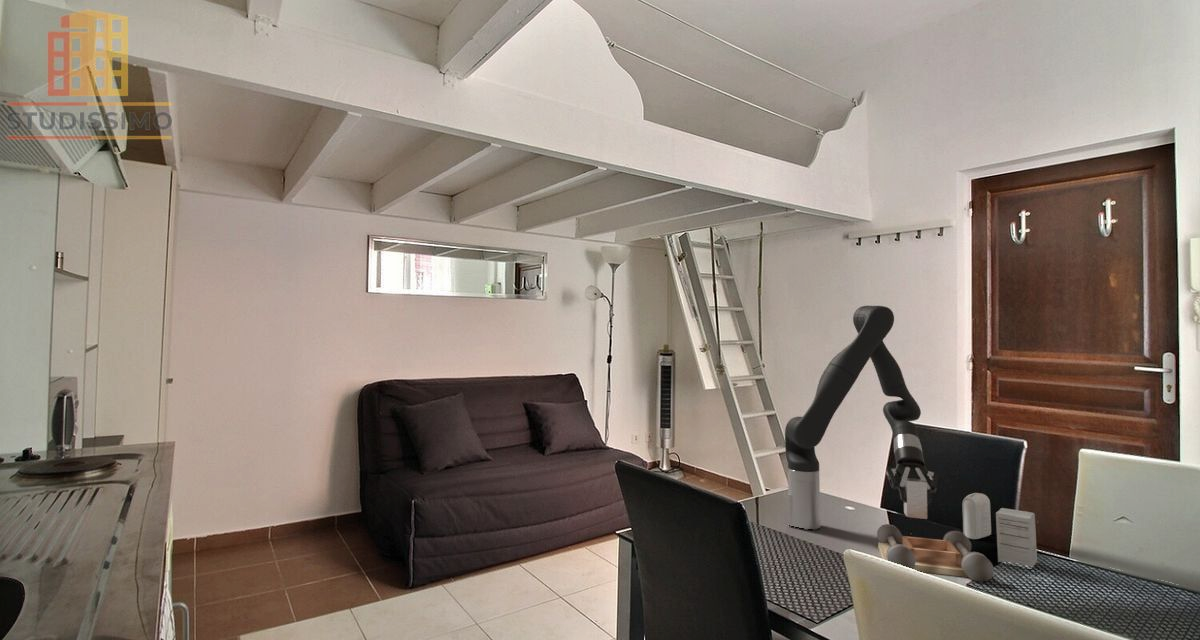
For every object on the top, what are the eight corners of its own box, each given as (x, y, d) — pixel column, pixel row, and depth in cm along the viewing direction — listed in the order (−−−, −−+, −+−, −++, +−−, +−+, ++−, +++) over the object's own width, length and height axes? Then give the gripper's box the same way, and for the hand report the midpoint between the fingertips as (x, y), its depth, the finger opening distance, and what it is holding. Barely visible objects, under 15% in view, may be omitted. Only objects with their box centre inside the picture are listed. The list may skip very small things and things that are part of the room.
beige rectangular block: (907, 517, 159) (906, 480, 160) (904, 512, 164) (903, 477, 164) (927, 519, 157) (926, 482, 158) (923, 514, 162) (923, 479, 163)
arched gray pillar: (977, 531, 171) (975, 490, 172) (993, 535, 168) (991, 492, 169) (961, 537, 166) (959, 493, 167) (977, 541, 162) (975, 496, 163)
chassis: (888, 570, 138) (887, 545, 138) (877, 545, 157) (876, 523, 158) (994, 583, 130) (993, 556, 131) (969, 555, 150) (968, 531, 150)
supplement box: (1003, 556, 149) (1001, 507, 150) (1038, 563, 144) (1035, 512, 145) (996, 562, 144) (994, 512, 145) (1033, 570, 139) (1030, 518, 140)
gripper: (883, 443, 171) (889, 492, 159) (937, 446, 166) (948, 497, 154) (880, 458, 176) (886, 506, 164) (933, 462, 171) (943, 512, 159)
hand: (916, 502), depth 159 cm, fingers closed on beige rectangular block, 5 cm apart
